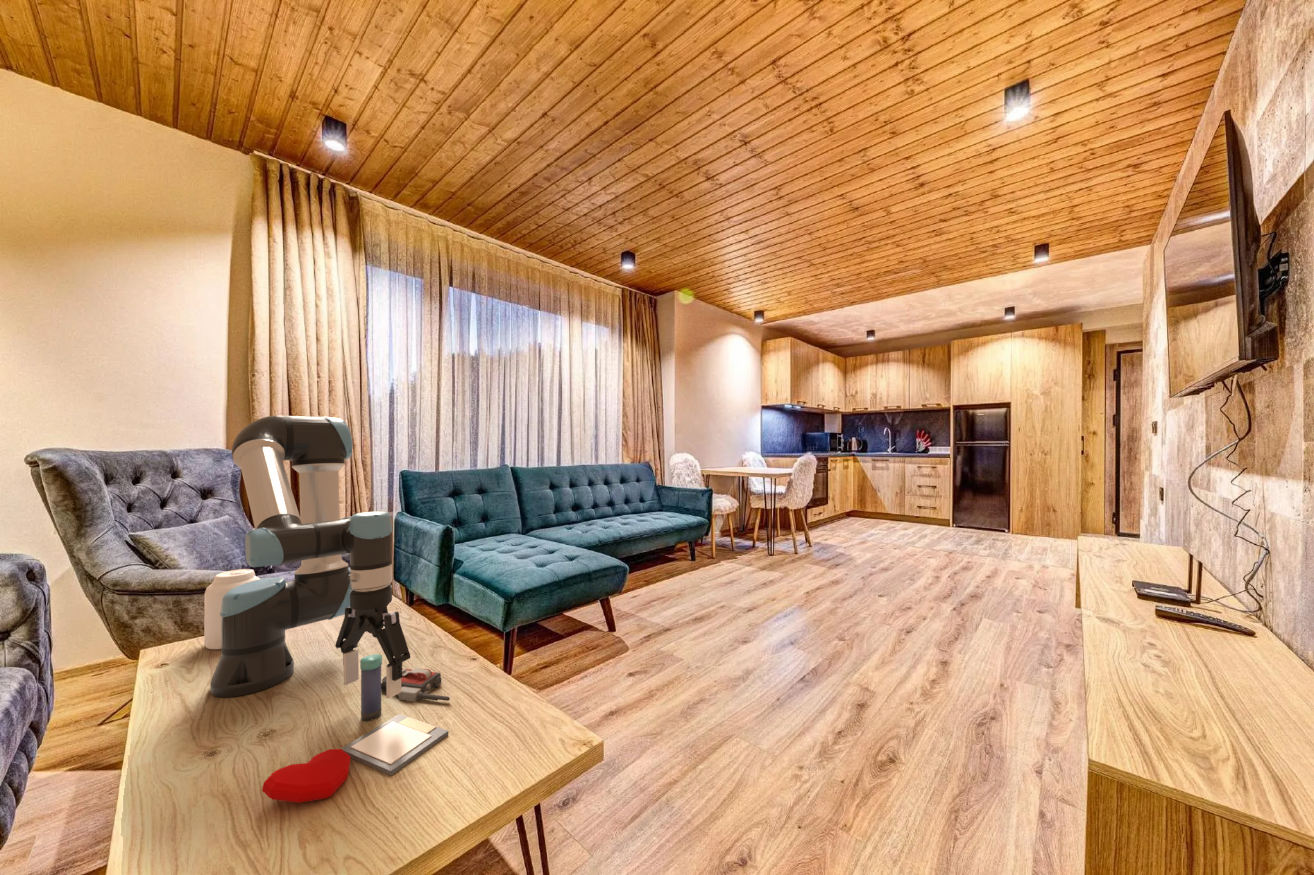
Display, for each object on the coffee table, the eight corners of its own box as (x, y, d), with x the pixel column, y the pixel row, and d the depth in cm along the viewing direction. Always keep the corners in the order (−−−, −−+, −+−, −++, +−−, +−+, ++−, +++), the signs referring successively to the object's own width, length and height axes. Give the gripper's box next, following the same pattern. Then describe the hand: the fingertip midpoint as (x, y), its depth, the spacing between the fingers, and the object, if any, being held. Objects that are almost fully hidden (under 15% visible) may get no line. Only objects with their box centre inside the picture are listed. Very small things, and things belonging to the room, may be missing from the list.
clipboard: (339, 753, 85) (339, 748, 85) (399, 717, 96) (399, 712, 96) (391, 775, 79) (390, 770, 79) (448, 734, 90) (448, 729, 90)
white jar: (262, 628, 142) (262, 563, 142) (263, 641, 132) (264, 572, 133) (205, 640, 133) (205, 571, 133) (203, 655, 124) (203, 581, 124)
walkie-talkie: (367, 698, 104) (445, 708, 100) (367, 678, 104) (446, 688, 100) (397, 678, 112) (470, 687, 108) (397, 660, 112) (470, 668, 108)
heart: (366, 788, 78) (335, 762, 83) (372, 761, 79) (340, 738, 84) (285, 828, 68) (254, 796, 73) (292, 797, 68) (261, 768, 73)
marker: (355, 718, 95) (355, 660, 95) (374, 708, 99) (374, 653, 99) (368, 723, 94) (368, 664, 94) (386, 713, 97) (386, 656, 97)
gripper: (315, 585, 98) (316, 685, 98) (395, 599, 88) (395, 710, 87) (351, 575, 105) (351, 669, 104) (428, 587, 95) (429, 691, 94)
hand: (371, 688), depth 96 cm, fingers open, 13 cm apart
